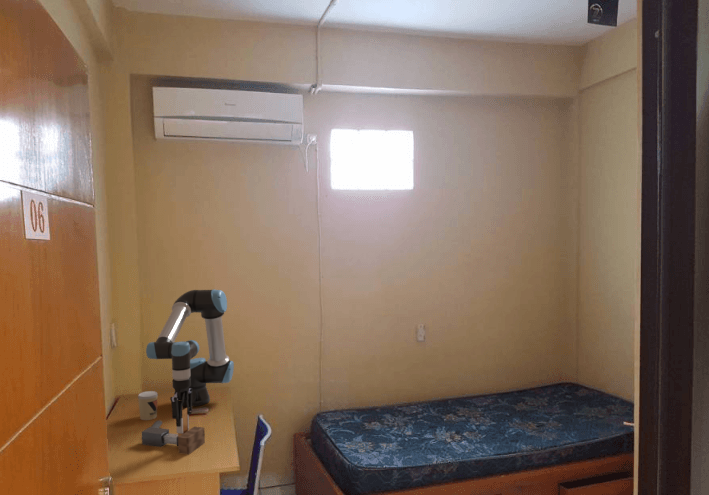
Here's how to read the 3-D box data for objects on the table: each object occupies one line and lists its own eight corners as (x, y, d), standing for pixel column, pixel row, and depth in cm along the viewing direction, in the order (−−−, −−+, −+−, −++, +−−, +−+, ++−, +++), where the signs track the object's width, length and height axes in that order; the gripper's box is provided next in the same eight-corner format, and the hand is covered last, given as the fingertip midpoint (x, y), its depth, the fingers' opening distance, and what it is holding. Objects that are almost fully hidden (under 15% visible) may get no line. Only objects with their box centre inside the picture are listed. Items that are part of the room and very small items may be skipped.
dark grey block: (150, 439, 242) (149, 427, 241) (169, 442, 239) (168, 429, 238) (142, 444, 236) (141, 431, 236) (161, 447, 233) (160, 434, 233)
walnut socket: (194, 441, 239) (194, 426, 238) (204, 443, 237) (204, 427, 237) (178, 453, 227) (178, 437, 227) (188, 454, 226) (188, 438, 225)
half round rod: (140, 440, 242) (140, 436, 242) (154, 424, 262) (154, 420, 262) (150, 440, 242) (150, 436, 242) (163, 423, 262) (163, 420, 262)
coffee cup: (151, 421, 264) (150, 397, 263) (134, 420, 266) (133, 396, 265) (162, 414, 273) (161, 391, 272) (145, 413, 275) (144, 390, 274)
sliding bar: (157, 439, 240) (156, 403, 239) (196, 443, 234) (195, 407, 233) (151, 443, 235) (150, 407, 235) (190, 448, 230) (189, 411, 229)
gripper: (185, 372, 241) (186, 423, 242) (161, 383, 225) (163, 437, 226) (200, 373, 239) (201, 424, 240) (177, 384, 223) (178, 439, 224)
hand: (182, 430), depth 233 cm, fingers closed on sliding bar, 4 cm apart
